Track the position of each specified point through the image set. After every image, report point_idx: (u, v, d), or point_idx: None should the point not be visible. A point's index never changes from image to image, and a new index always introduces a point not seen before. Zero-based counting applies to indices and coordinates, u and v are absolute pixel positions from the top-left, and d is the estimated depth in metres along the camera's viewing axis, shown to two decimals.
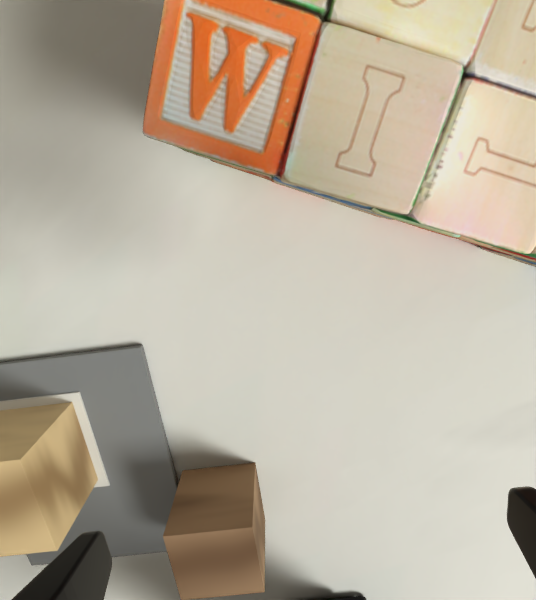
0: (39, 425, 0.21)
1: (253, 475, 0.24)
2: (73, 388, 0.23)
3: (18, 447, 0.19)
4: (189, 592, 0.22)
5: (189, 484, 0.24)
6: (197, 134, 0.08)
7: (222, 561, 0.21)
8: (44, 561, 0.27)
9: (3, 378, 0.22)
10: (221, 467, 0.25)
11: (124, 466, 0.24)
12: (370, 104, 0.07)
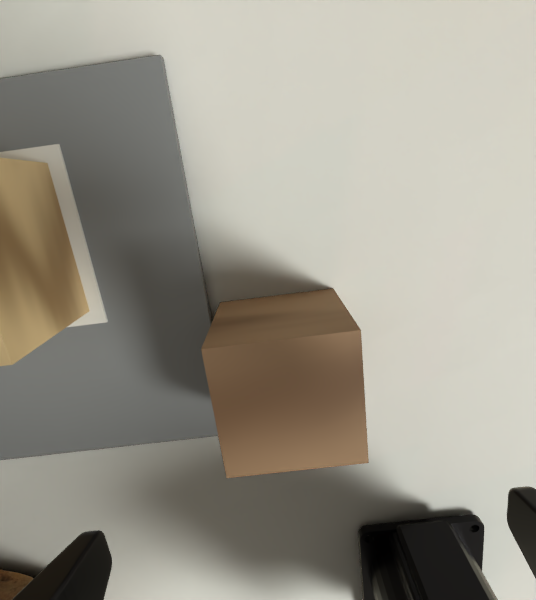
0: None
1: (336, 295, 0.15)
2: (49, 137, 0.14)
3: None
4: (241, 463, 0.13)
5: (234, 309, 0.15)
6: None
7: (301, 401, 0.12)
8: (9, 455, 0.18)
9: None
10: (281, 295, 0.16)
11: (130, 287, 0.16)
12: None
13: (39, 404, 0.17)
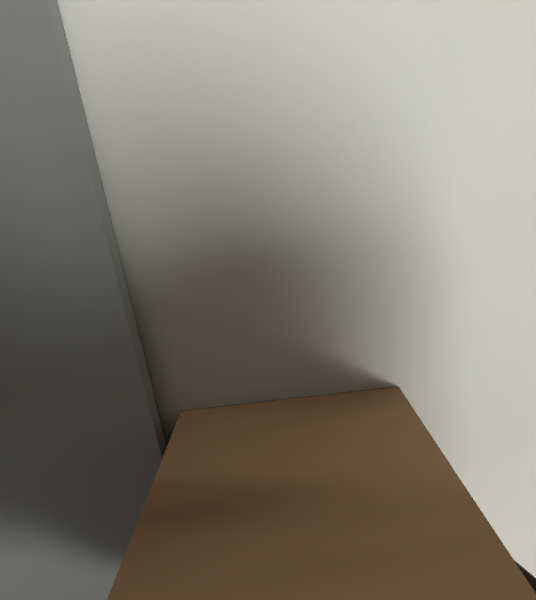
0: None
1: (416, 419, 0.07)
2: None
3: None
4: None
5: (202, 448, 0.07)
6: None
7: None
8: None
9: None
10: (298, 402, 0.08)
11: None
12: None
13: None
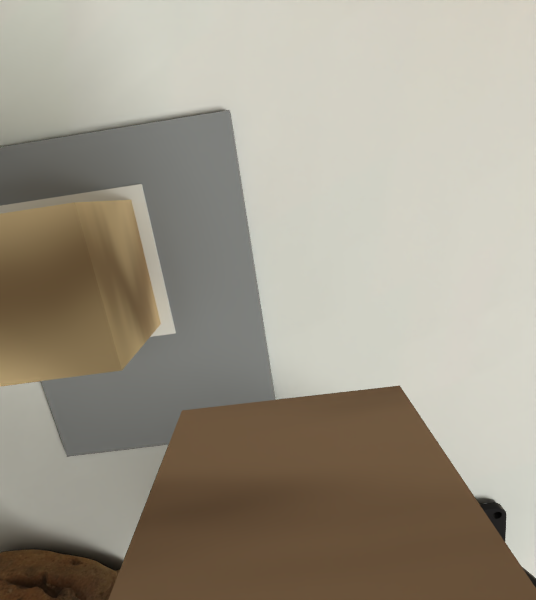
0: None
1: (417, 418, 0.07)
2: (133, 178, 0.16)
3: None
4: None
5: (204, 447, 0.07)
6: None
7: None
8: (84, 450, 0.20)
9: (38, 163, 0.16)
10: (299, 401, 0.08)
11: (196, 303, 0.18)
12: None
13: (113, 405, 0.20)
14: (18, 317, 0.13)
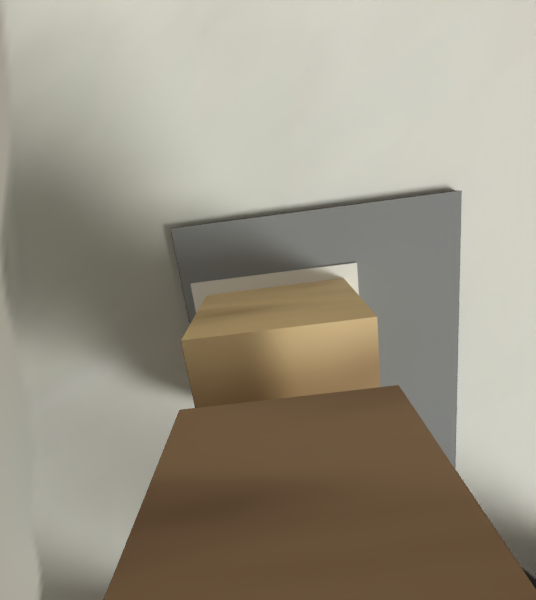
0: (335, 294, 0.14)
1: (417, 417, 0.07)
2: (348, 257, 0.16)
3: (344, 309, 0.12)
4: None
5: (201, 447, 0.07)
6: None
7: None
8: None
9: (251, 240, 0.15)
10: (297, 401, 0.08)
11: (391, 379, 0.17)
12: None
13: None
14: None
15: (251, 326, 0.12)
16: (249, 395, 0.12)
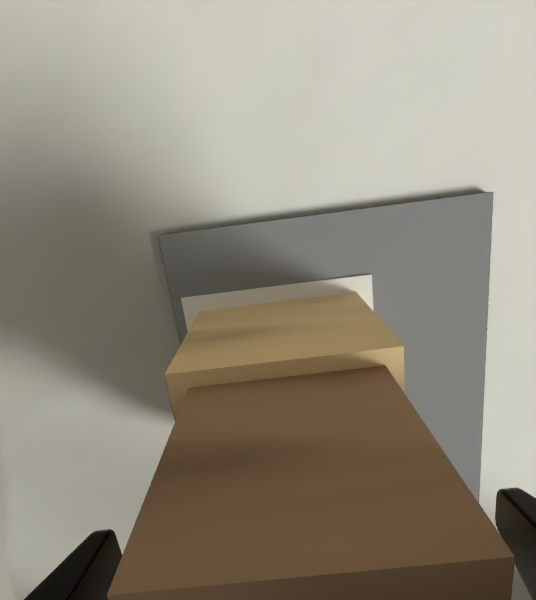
0: (349, 313, 0.12)
1: (400, 391, 0.08)
2: (362, 268, 0.14)
3: (361, 334, 0.10)
4: None
5: (210, 417, 0.08)
6: None
7: None
8: None
9: (250, 248, 0.13)
10: (295, 379, 0.09)
11: None
12: None
13: None
14: None
15: (250, 356, 0.10)
16: None
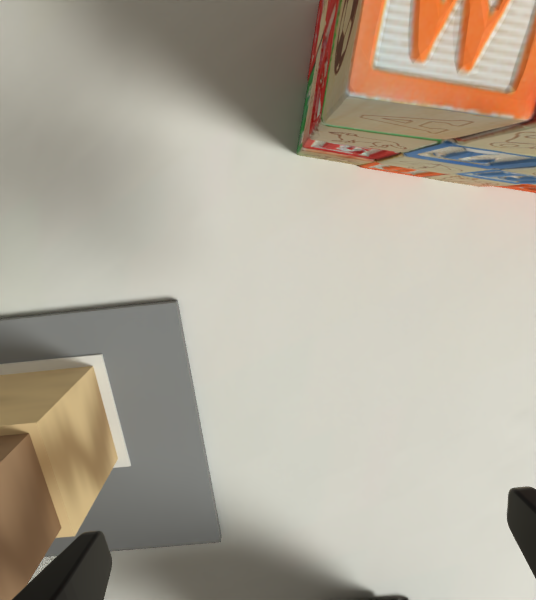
0: (56, 388, 0.18)
1: (6, 453, 0.14)
2: (95, 349, 0.20)
3: (33, 409, 0.16)
4: None
5: None
6: (422, 81, 0.06)
7: None
8: (51, 553, 0.24)
9: (14, 335, 0.19)
10: None
11: (148, 443, 0.21)
12: None
13: None
14: None
15: None
16: None
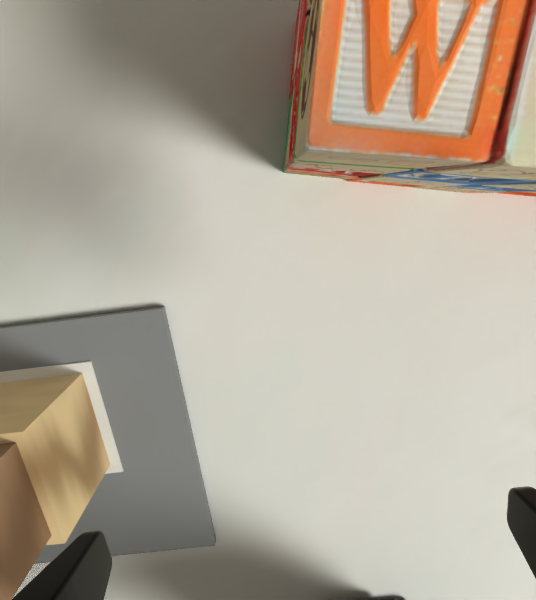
0: (45, 396, 0.18)
1: None
2: (84, 357, 0.20)
3: (20, 418, 0.16)
4: None
5: None
6: (379, 131, 0.06)
7: None
8: (47, 559, 0.24)
9: (3, 344, 0.19)
10: None
11: (140, 449, 0.21)
12: None
13: None
14: None
15: None
16: None
